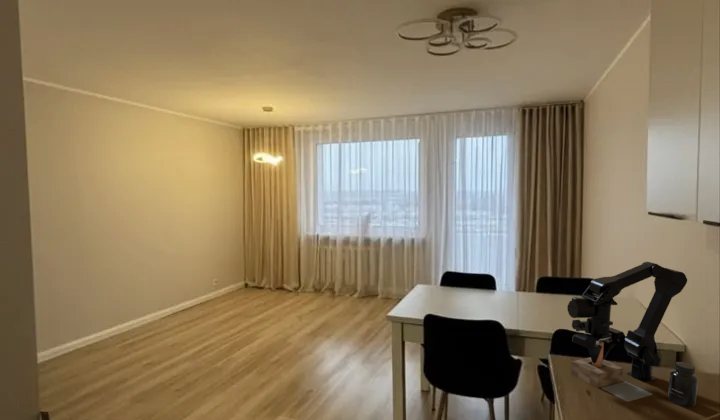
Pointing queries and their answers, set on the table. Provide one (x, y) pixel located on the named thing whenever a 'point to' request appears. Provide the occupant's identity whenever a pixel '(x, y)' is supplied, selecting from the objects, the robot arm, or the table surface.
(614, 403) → the table surface
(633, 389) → the mat
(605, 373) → the socket block
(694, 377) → the supplement bottle
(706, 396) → the table surface
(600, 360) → the dowel
